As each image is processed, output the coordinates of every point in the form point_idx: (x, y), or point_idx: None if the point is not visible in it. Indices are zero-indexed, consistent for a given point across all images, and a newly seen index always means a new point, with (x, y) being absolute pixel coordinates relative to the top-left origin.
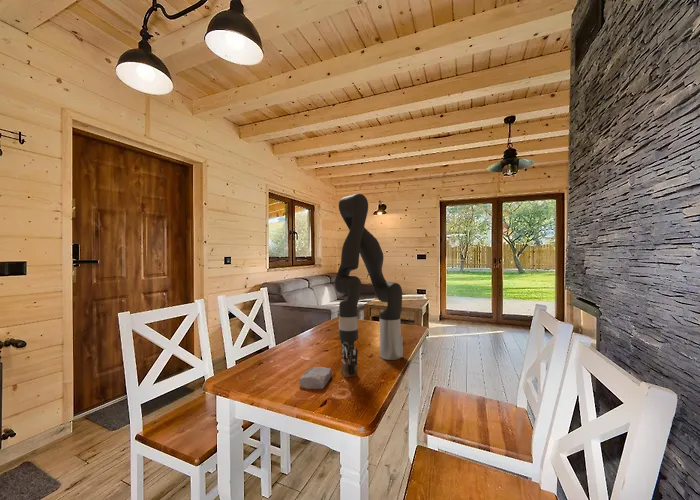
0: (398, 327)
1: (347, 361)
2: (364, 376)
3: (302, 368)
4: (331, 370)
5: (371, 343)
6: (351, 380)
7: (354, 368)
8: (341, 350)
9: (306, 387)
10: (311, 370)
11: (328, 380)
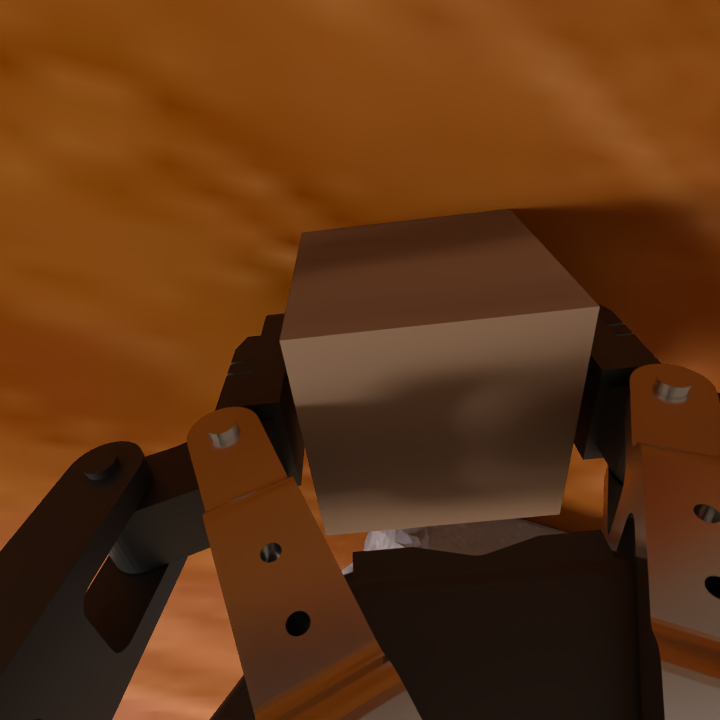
0: None
1: (455, 465)
2: (599, 95)
3: (184, 643)
4: (438, 547)
5: None
6: (622, 320)
7: (603, 327)
8: (96, 625)
9: None
10: None
11: (520, 521)
